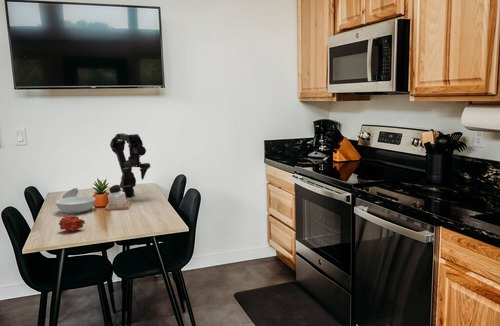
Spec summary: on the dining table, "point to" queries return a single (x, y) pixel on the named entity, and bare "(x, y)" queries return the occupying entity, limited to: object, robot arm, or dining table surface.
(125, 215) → the dining table surface
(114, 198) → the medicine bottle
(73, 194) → the grey rounded lump
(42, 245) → the dining table surface
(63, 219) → the dragon fruit
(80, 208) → the serving bowl
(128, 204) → the terracotta tray
